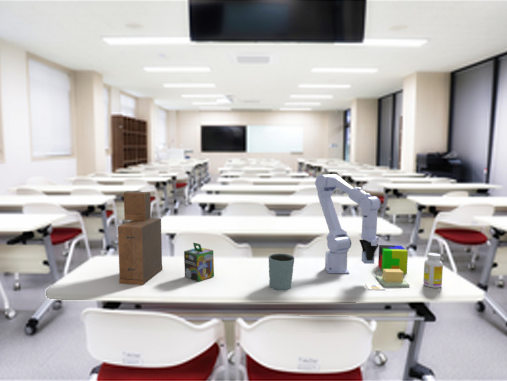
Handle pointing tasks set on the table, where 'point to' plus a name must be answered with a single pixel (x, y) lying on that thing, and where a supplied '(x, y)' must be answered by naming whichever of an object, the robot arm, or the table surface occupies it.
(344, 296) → the table surface
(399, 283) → the baseplate
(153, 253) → the brown stacked boxes
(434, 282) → the supplement bottle
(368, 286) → the page
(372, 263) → the blue cube
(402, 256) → the puzzle toy
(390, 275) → the ochre brick
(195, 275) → the multicoloured upright box
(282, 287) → the green cup
